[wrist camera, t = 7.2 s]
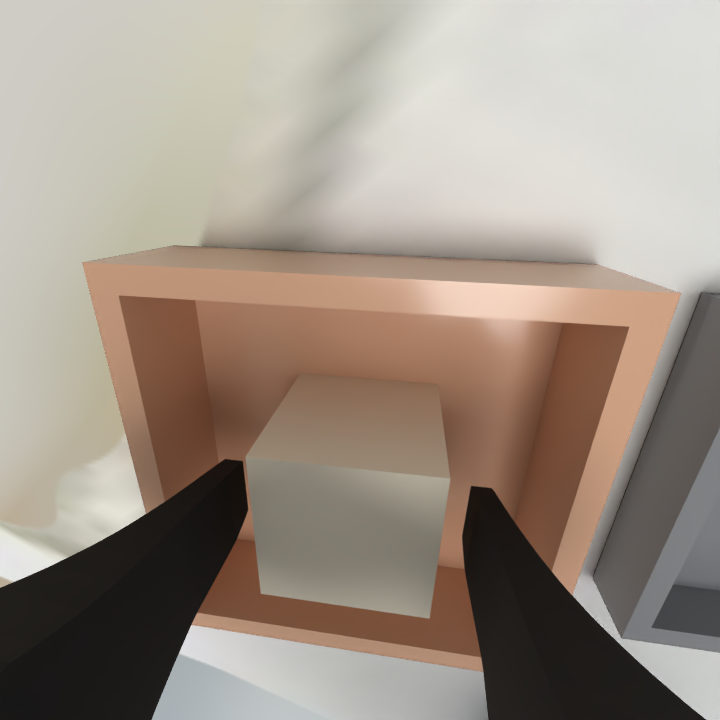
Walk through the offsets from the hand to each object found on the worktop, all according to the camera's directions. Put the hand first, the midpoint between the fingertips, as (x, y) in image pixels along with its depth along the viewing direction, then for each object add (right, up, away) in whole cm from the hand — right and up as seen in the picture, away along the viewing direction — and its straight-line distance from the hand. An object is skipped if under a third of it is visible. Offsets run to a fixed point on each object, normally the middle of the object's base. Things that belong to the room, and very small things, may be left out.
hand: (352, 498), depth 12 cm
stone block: (0, +1, +3) cm, 3 cm away
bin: (0, +1, +3) cm, 4 cm away
